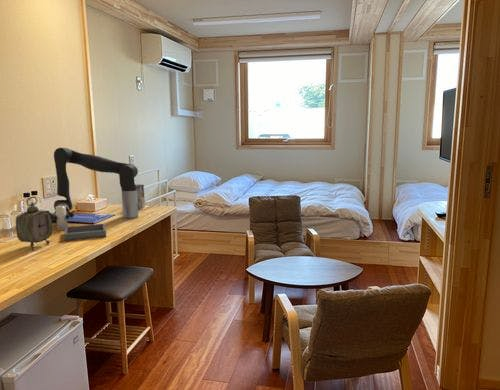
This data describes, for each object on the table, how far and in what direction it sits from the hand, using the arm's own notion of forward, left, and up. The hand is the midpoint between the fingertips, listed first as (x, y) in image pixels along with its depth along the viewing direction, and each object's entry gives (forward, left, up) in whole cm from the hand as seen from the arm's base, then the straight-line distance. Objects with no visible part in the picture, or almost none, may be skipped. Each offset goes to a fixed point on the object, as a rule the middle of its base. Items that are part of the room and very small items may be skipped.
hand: (61, 218), depth 227 cm
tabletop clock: (+11, +26, -7) cm, 30 cm away
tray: (-12, +14, -7) cm, 20 cm away
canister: (0, -3, -7) cm, 7 cm away
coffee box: (-47, -41, -7) cm, 62 cm away
